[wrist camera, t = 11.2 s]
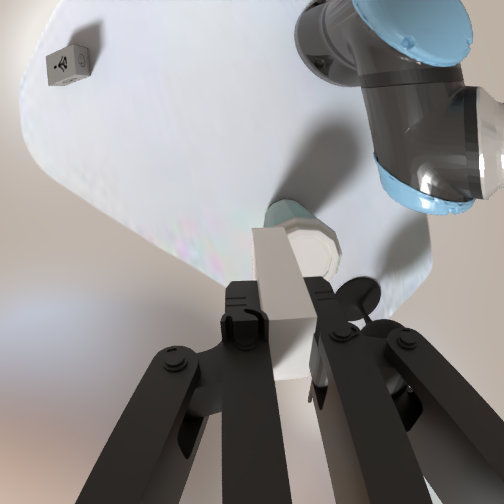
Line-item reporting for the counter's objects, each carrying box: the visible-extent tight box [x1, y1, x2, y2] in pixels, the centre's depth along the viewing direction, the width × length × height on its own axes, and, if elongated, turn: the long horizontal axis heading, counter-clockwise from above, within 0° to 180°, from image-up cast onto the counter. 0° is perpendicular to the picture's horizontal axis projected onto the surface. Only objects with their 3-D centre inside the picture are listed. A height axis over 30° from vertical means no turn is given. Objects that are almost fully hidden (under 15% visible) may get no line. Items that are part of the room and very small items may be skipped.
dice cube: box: [46, 44, 90, 86], centre depth 33 cm, size 5×5×5 cm
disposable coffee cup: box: [264, 199, 342, 281], centre depth 42 cm, size 11×11×15 cm
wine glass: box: [335, 278, 405, 339], centre depth 48 cm, size 10×10×20 cm
